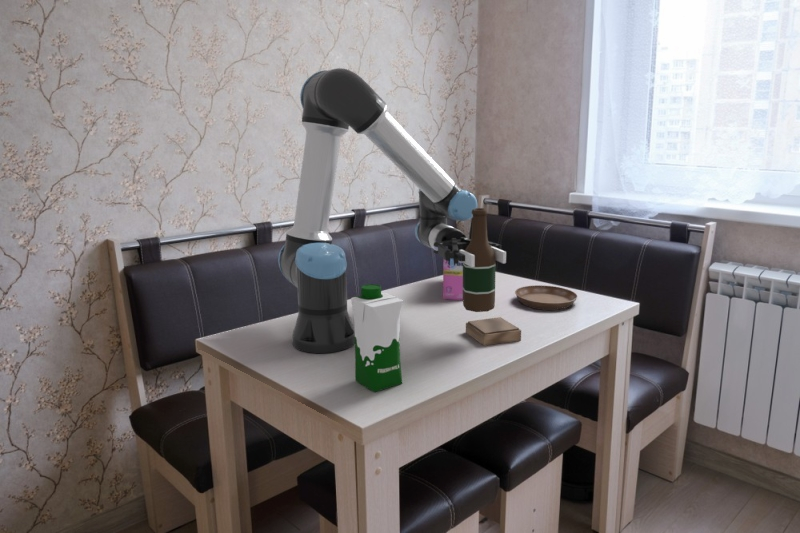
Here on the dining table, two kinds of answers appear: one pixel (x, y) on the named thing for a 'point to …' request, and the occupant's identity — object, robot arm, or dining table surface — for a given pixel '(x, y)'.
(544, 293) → the plant saucer
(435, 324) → the dining table surface
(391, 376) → the milk carton
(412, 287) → the dining table surface
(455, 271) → the gum box
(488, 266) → the beer bottle
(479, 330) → the plinth
